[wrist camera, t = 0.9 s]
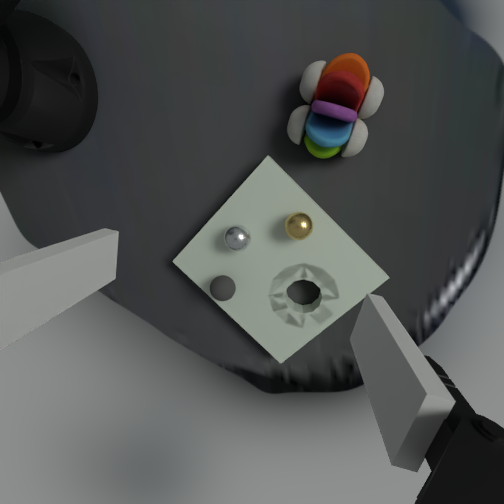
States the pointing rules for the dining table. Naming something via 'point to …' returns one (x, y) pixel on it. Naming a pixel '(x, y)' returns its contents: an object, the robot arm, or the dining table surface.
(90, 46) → the dining table surface
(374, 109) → the rainbow disc rolling toy
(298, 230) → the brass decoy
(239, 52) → the dining table surface
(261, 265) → the pale green flat slab
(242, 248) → the steel ball
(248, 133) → the dining table surface
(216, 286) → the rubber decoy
